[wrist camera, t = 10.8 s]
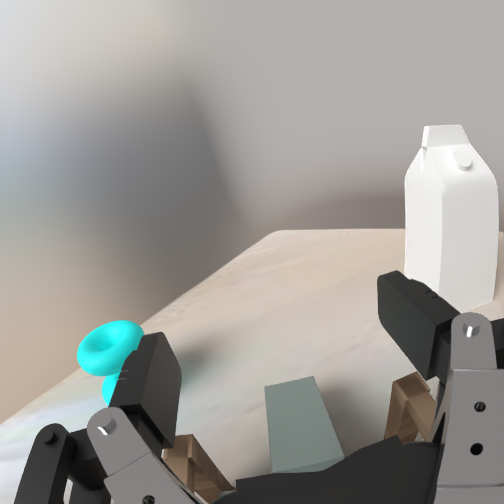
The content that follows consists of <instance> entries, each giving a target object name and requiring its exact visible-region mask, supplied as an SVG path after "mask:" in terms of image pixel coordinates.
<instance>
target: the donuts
mask: <svg viewBox="0 0 504 504" xmlns="http://www.w3.org/2000/svg"><path fill="white" fill-rule="evenodd" d="M143 335H144V332H143V330H142V328H141V327H140V326H139V325H137V324H136V323H134V322H131V321H127V320H119V321H114V322H110V323H107V324H104V325H102V326H100V327H98V328H96V329H95V330H93V331H92V332H91V333H90V334H88V335H87V336H86V337H85V338H84V340H83V341H82V342H81V344H80V346H79V348H78V352H77V359H78V362H79V364H80V366H81V367H82V369H83V370H85V371H86V372H87V373H89V374H92V375H95V376H106V378H105V380H104V382H103V387H102V394H103V398H104V400H105V402H106V403H107V405H108V406H109V403H110V400H111V397H112V394H113V391H114V388H115V386H116V383H117V380H119V379H118V377H119V374H120V372H121V369H122V366H123V364H124V361H125V359H126V358H127V357H128V356H129V355H130V353H131V352H132V351H134V350H137V348H138V345H139V342H140V340H141V337H142V336H143Z"/></svg>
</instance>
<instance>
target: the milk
mask: <svg viewBox="0 0 504 504" xmlns="http://www.w3.org/2000/svg"><path fill="white" fill-rule="evenodd" d="M405 206H406V207H405V211H406V239H405V268H404V276H406V277H407V278H408V279H409V280H410V279H414V280H417V281H420V282H422V283H424V284H426V285H427V286H428V287H429V288H431V289H432V291H434V292H436V293H437V294H438V295H439V297H440V296H441V297H442V298H443V299H444V300H446V301H447V302H448V303H449V304H450V305H452V306H453V307H454V308H455V309H456V310H458V311H459V312H460V313H461V314H462V313H464V312H467V311H469V310H472V309H474V308H477V307H479V306H482V305H484V304H487V303H489V302H491V301H493V296H494V288H495V279H496V269H497V255H498V225H499V224H498V223H499V221H498V220H499V217H498V216H499V215H498V189H497V183H496V180H495V178H494V176H493V174H492V172H491V171H490V169H489V168H488V166H487V165H486V164H485V162H484V161H483V160H482V158H481V157H480V156H479V154H478V153H477V152H476V151H475V149H474V148H473V147H472V146H471V145H470V144H469V140H468V138H467V136H466V134H465V132H464V130H463V128H462V126H461V125H437V126H424V133H423V139H422V148H420V150H419V152H418V154H417V155H416V157H415V159H414V160H413V162H412V164H411V165H410V167H409V169H408V171H407V173H406V176H405Z"/></svg>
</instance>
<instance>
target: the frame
mask: <svg viewBox="0 0 504 504" xmlns="http://www.w3.org/2000/svg"><path fill="white" fill-rule="evenodd" d="M429 392H430V388H429V387H428V385H427V384H426V383H425V381H424V380H423V379H422V377H421V376H420V375H419V373H418V372H417V371H416V372H414V373H412V374H410V375H407V376H405V377H403V378H400V379H398V380H396V381H393V384H392V392H391V399H390V406H389V413H388V419H387V425H386V430H385V436H384V440H385V439H387V438H390V437H392V436H394V435H397V436H398V438H399V439H400V441H401V443H406V442H414V441H415V438H416V435H417V432H418V430H419V432H420V433H421V435H422V437H423V438H424V440H425V442H427V441H428V438H429V435H430V431H431V427H432V422H433V417H434V411H435V404H436V402H435V401H434V399H433V398H432V396H431V395H430V394H429ZM163 459H164V460H165V461H166V463H167V464H168V466H169V467H170V468H171V469H172V470H173V472H174V473H175V474H176V475H177V476H178V477H179V479H180V480H181V481H182V482H183V483H184V484H185V485H186V486H187V487H188V489H189V490H190V491H191V492H192V493H193V494H194V491H195V492H197V493H198V494H199V495H200V496H201V497H202V498H203V499H204V500H205V501H206V502H208V503H209V504H211V503H212V502H214V501H215V500H217V499H218V493H219V492H225V491H233V490H237V488H233V487H232V486H231V485H230V483H229V482H228V481H227V480H226V478H225V477H224V476H223V475H222V473H221V472H220V471H219V470H218V468H217V467H216V466H215V464H214V463H213V462H212V460H211V459H210V458H209V456H208V455H207V454H206V452H205V451H204V450H203V448H202V447H201V445H200V444H199V443H198V441H197V440H196V438H195V437H194V435H193V434H189V435H179V436H175V441H174V448H170V449H164V457H163Z"/></svg>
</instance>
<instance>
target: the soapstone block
mask: <svg viewBox="0 0 504 504" xmlns="http://www.w3.org/2000/svg"><path fill="white" fill-rule="evenodd" d="M265 398H266V409H267V421H268V432H269V444H270V455H271V466H272V474H273V473H298V472H317V471H322V470H325V469H327V468H329V467H330V466H332V465H334V464H336V463H338V462H339V461H341V460H343V459H345V457H344V454H343V451H342V448H341V446H340V443H339V441H338V438H337V435H336V433H335V430H334V428H333V425H332V423H331V420H330V417H329V415H328V412H327V410H326V407H325V405H324V402H323V399H322V397H321V394H320V392H319V389H318V387H317V384H316V382H315V379H314V377H313V376H311V377H307V378H302V379H298V380H294V381H289V382H285V383H280V384H275V385H271V386H265Z"/></svg>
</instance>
